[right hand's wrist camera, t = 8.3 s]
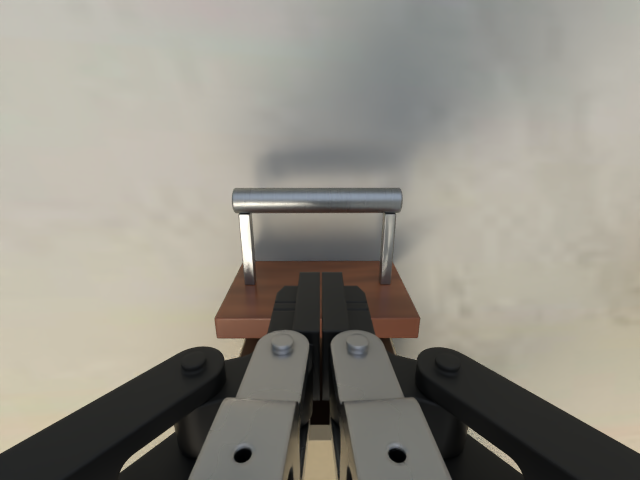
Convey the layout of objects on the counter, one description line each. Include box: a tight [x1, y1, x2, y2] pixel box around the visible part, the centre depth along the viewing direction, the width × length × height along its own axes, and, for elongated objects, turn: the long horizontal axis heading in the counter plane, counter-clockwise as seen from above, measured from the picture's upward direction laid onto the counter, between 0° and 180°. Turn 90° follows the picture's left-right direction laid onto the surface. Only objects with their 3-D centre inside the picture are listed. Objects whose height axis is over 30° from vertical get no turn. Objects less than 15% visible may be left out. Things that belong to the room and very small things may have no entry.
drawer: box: [215, 188, 420, 425], centre depth 21 cm, size 20×10×7 cm, turn 0°
